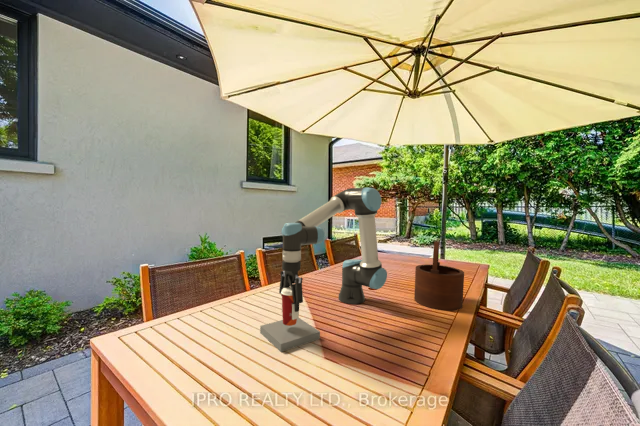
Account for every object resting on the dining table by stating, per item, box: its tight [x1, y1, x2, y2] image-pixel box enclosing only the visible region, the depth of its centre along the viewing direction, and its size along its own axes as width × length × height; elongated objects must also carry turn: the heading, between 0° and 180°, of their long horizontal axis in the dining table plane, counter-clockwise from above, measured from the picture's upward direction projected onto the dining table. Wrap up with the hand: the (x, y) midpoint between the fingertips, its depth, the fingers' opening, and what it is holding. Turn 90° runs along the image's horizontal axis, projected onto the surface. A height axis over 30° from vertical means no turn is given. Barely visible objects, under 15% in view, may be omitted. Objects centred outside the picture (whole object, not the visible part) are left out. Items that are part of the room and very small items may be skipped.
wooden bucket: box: [413, 241, 465, 312], centre depth 159 cm, size 26×26×35 cm
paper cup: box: [280, 287, 297, 326], centre depth 114 cm, size 8×8×14 cm
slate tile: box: [259, 317, 321, 353], centre depth 114 cm, size 18×18×3 cm
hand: (289, 315), depth 114 cm, fingers closed on paper cup, 8 cm apart
